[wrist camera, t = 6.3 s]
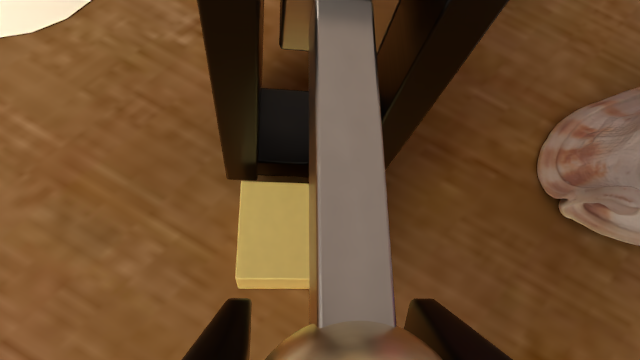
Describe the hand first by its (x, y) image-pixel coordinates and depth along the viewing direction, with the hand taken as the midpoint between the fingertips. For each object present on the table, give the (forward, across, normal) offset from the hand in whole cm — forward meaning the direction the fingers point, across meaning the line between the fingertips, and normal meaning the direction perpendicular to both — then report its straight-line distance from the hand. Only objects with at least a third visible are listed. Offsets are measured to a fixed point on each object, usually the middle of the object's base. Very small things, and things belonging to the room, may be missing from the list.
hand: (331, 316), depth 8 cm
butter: (+6, 0, +2) cm, 7 cm away
